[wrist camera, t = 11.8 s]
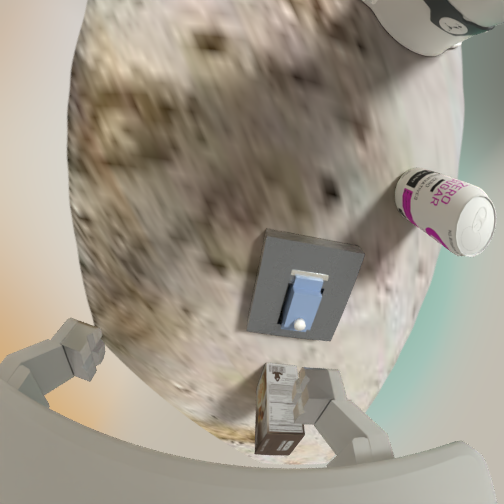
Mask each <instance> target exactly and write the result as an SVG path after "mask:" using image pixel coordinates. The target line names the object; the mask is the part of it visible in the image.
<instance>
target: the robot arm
mask: <svg viewBox="0 0 504 504" xmlns="http://www.w3.org/2000/svg"><path fill="white" fill-rule="evenodd" d="M362 1H363V2H364V3H365V4H366V5H367V6H369V7H370V8H371V9H372V10H373V12H374V13H375V15H376V17H377V18H378V20H379V22H380V23H381V24H382V26H383V27H384V28H385V30H386V31H387V32H388V33H389V34H390V35H391V36H392V37H393V38H394V39H395V40H396V41H398V42H399V43H400V44H402V45H403V46H405V47H406V48H408V49H409V50H411V51H413V52H415V53H418V54H421V55H425V56H437V55H440V54H442V53H443V52H444V51H445V50H447V49H448V48H456V47H458V46H460V45H461V42H462V41H464V40H466V39H467V38H469V37H472V36H473V35H477V34H480V33H485V32H488V31H489V30H492V29H493V28H494V27H495V25H498V24H502V23H504V0H362ZM101 337H102V331H101V329H100V328H98V327H95V326H92V325H89V324H87V323H84V322H81V321H78V320H75V319H73V318H70V319H68V320H67V321H66V322H65V323H64V324H63V325H62V327H61V328H60V329H59V330H58V331H57V333H56V334H55V335H54V336H53V338H52V339H51V340H49V339H47V340H45V341H42V342H40V343H37V344H35V345H32V346H30V347H27V348H24V349H22V350H19V351H17V352H14V353H12V354H9V355H7V357H6V358H5V359H4V360H3V361H2V363H1V364H0V504H497V501H496V496H495V491H494V487H493V483H492V479H491V476H490V473H489V469H488V466H487V464H486V461H485V459H484V457H483V456H482V455H481V454H480V453H479V452H478V451H477V450H475V449H474V448H473V447H471V446H470V445H469V444H467V443H465V442H463V441H455V442H452V443H449V444H446V445H443V446H440V447H437V448H434V449H430V450H427V451H423V452H420V453H415V454H412V455H407V456H403V457H399V458H394V455H393V451H392V447H391V444H390V441H389V437H388V434H387V433H386V432H385V431H384V430H383V429H382V428H381V427H380V426H378V425H377V424H376V423H375V422H374V421H373V420H372V419H370V417H369V416H368V415H366V414H365V413H364V412H363V411H362V410H361V409H360V408H359V407H358V406H357V405H356V404H355V403H354V402H352V401H351V400H347V396H346V392H345V388H344V385H343V381H342V378H341V374H340V371H339V370H338V369H322V368H306V367H302V368H301V370H300V372H299V379H297V380H296V381H295V383H294V385H293V390H292V402H293V403H294V404H295V405H296V406H295V408H294V410H293V416H294V424H312V425H314V426H315V427H316V429H317V430H318V431H319V433H320V434H321V435H322V437H323V438H324V439H325V441H326V442H327V443H328V445H329V446H330V447H331V448H332V450H333V451H334V452H335V454H336V455H337V456H336V457H335V458H334V459H333V460H332V461H331V462H330V463H328V465H327V468H308V469H307V468H306V469H281V468H259V467H245V466H236V465H227V464H220V463H212V462H206V461H201V460H195V459H190V458H185V457H180V456H176V455H171V454H167V453H163V452H159V451H156V450H152V449H148V448H145V447H141V446H138V445H135V444H132V443H128V442H126V441H122V440H120V439H117V438H114V437H111V436H109V435H106V434H104V433H101V432H99V431H96V430H94V429H91V428H89V427H86V426H84V425H82V424H80V423H77V422H75V421H73V420H71V419H69V418H67V417H65V416H63V415H60V414H59V413H56V412H55V411H53V410H51V409H49V403H48V401H47V400H46V398H45V397H44V395H45V394H47V393H49V392H50V391H52V390H53V389H55V388H57V387H58V386H60V385H61V384H63V383H65V382H66V381H68V380H69V379H71V378H73V377H74V376H76V377H79V378H81V379H84V380H87V381H91V380H92V378H93V376H94V374H95V373H96V366H97V365H98V364H100V363H101V362H102V360H103V358H104V354H105V344H104V342H103V341H102V340H101Z"/></svg>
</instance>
